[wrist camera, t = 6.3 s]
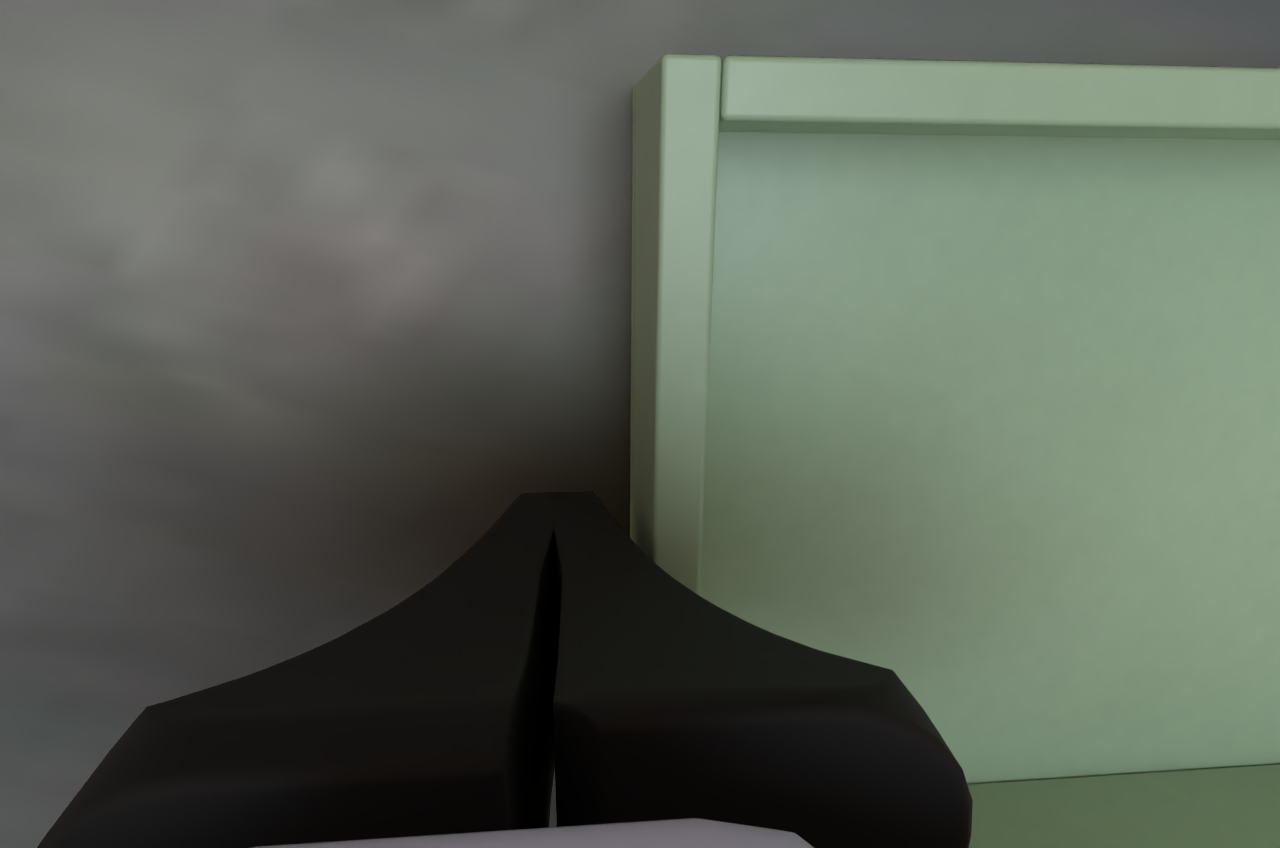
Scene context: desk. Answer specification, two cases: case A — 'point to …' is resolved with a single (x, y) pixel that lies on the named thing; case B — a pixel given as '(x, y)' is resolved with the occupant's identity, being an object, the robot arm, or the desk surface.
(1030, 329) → the tray
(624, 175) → the desk surface
